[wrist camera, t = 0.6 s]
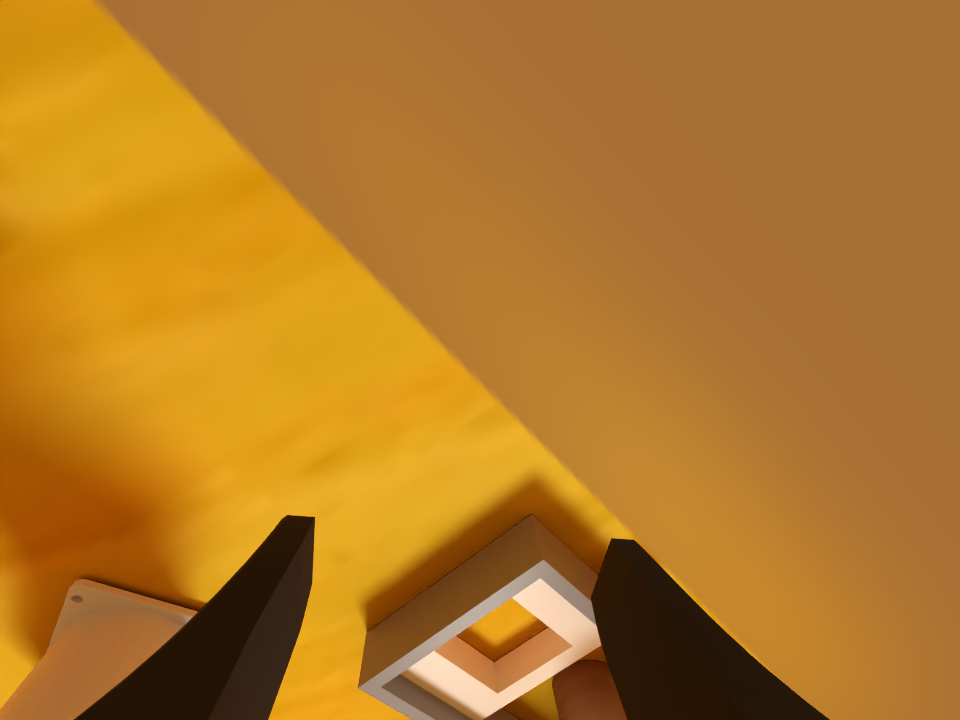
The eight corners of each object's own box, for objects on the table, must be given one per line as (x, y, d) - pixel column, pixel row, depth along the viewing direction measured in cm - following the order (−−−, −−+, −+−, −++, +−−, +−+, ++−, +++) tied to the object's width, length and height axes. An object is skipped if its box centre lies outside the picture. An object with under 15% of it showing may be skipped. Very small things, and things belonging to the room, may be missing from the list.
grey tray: (701, 670, 30) (728, 721, 27) (555, 754, 32) (566, 809, 30) (531, 513, 24) (543, 559, 21) (366, 632, 26) (357, 687, 23)
